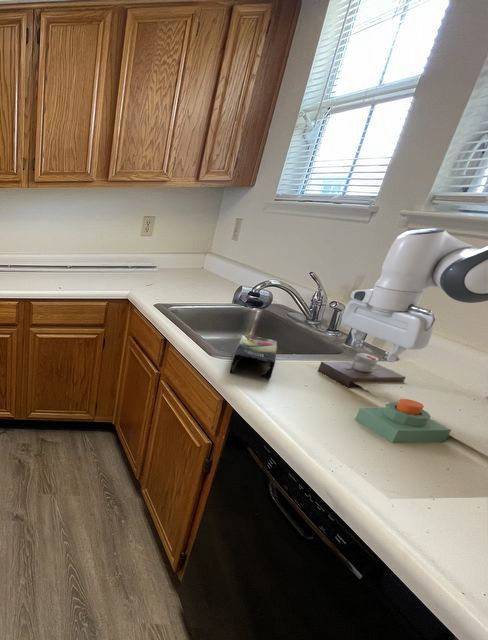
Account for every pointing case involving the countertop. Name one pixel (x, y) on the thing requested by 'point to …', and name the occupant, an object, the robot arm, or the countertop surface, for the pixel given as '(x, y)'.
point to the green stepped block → (402, 425)
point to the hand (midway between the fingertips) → (371, 353)
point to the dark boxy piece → (256, 352)
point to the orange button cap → (410, 406)
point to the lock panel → (356, 374)
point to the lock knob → (364, 362)
